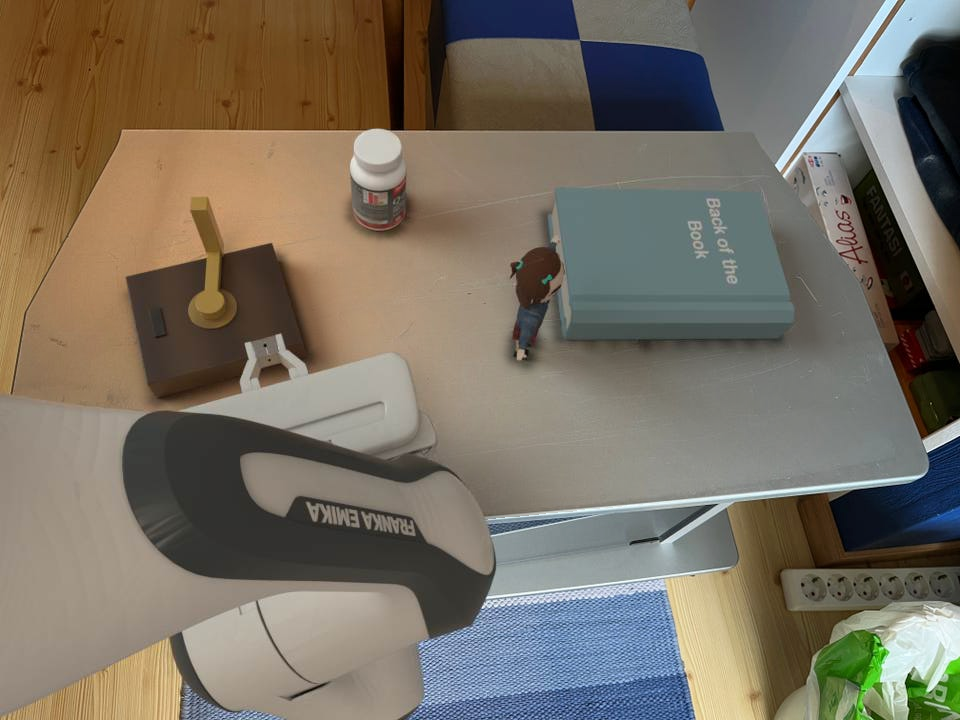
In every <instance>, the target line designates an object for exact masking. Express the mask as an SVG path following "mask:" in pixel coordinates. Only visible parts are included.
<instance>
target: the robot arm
mask: <svg viewBox="0 0 960 720" xmlns="http://www.w3.org/2000/svg"><path fill="white" fill-rule="evenodd" d="M245 347H246V350H247V354H248V358H249V360H248V361H247V363H246V366H245V369H244V371H243V374H242V375H241V377H240V379H239V385H240V389H241V393H237V394H234V395H230V396H226V397H222V398H219V399H216V400H215V399H214V400H211V401H209V402H205V403H201V404H198V405H194V406H190V407H186V408H183V409H178V410H155V411H152V410H139V409H127V408H115V407H105V406H104V407H103V406H92V405H81V404H74V403H67V402H60V401H53V400H46V399H40V398H35V397H29V396H22V395H18V394H17V395H16V394H11V393H6V392H0V719H1V718H3V717H6V716H8V715H10V714H13V713H15V712H17V711H19V710H21V709H24V708H26V707H28V706H31V705H32V704H35V703H36V702H39V701H41V700H43V699H45V698H47V697H49V696H51V695H54V694H56V693H58V692H60V691H62V690H65V689H66V688H69V687H70V686H73V685H74V684H76V683H78V682H80V681H83V680H85V679H86V678H88V677H91V676H93V675H95V674H97V673H99V672H101V671H103V670H105V669H107V668H109V667H111V666H113V665H115V664H117V663H119V662H121V661H123V660H125V659H127V658H129V657H132V656H134V655H135V654H137V653H138V654H139V652H142V651H144V650H146V649H148V648H150V647H152V646H154V645H156V644H158V643H160V642H162V641H164V640H167V639H169V645H170V649H171V653H172V657H173V660H174V663H175V666H176V668H177V670H178V672H179V674H180V677H181V678H182V680H183V682H185V684H186V685H187V687H189V688H190V690H192V692H193V693H195V694H196V695H197V696H198V697H199V698H200V699H201V700H203V701H205V702H206V703H208V704H209V705H211V706H213V707H216V708H217V709H219V710H223V711H226V712H229V713H233V714H237V713H241V712H243V711H251V712H257V713H262V714H266V715H270V716H274V717H277V718H280V719H282V720H407V719H409V717H410V716H412V715H413V714H414V713H415V712H416V711H417V709H418V708H419V706H420V705H421V703H422V702H423V701H424V698H425V681H424V674H423V673H424V672H423V668H422V662H421V655H420V650H419V646H418V644H419V643H422V642H424V641H426V640H428V639H430V640H434V639H437V638H439V637H443V636H445V635H448V634H451V633H455V632H458V631H460V630H462V629H466V628H468V627H472V626H473V624H474V623H475V621H476V619H477V618H478V616H479V614H480V612H481V610H482V608H483V606H484V604H485V602H486V599H487V598H488V595H489V592H490V590H491V587H492V584H493V581H494V578H495V575H496V571H497V557H496V550H495V545H494V543H493V539H492V536H491V531H490V528H489V526H488V522H487V520H486V518H485V516H484V512H483V511H482V509H481V507H480V505H479V504H478V502H477V500H476V498H475V497H474V495H473V494H472V492H471V491H470V490H469V488H468V487H467V485H466V483H464V481H463V480H462V479H461V478H460V477H459V476H458V475H457V473H455V471H453V470H452V469H450V468H448V467H446V466H445V465H443V464H441V463H438V462H436V461H435V460H432V459H429V457H430V456H431V455H433V453H434V452H435V450H436V448H437V445H438V436H437V433H436V430H435V428H434V425H433V422H432V419H431V418H430V416H429V415H428V414H427V413H426V412H425V411H423V410H421V409H419V408H420V407H419V402H418V395H417V390H416V386H415V381H414V378H413V374H412V371H411V368H410V365H409V362H408V360H407V359H406V357H404V356H402V355H400V354H399V353H397V352H396V351H389V352H388V351H387V352H385V353H382V354H377V355H374V356H370V357H367V358H363V359H360V360H356V361H352V362H349V363H346V364H341V365H339V366H335V367H331V368H327V369H323V370H320V371H317V372H312V373H310V374H309V371H308V368H307V365H306V363H305V362H304V361H303V360H301V359H299V358H297V357H296V356H295V355H294V354H292V353H291V352H290V351H289V350H286V348H285V344H284V341H283V337H282V334H277V335H273V336H269V337H266V338H262V339H258V340H254V341H251V342H247V343H245ZM278 363H282V364H281V365H282V366H284V367H285V368H286V369H287V370H288V374H289V375H288V376H289V378H290V379H287V380H284V381H280V382H276V383H274V384H273V383H272V384H269V385H267V386H261V383H260V379H259V377H260V374H261V368H263V367H267V366H270V365H274V364H278ZM424 451H425V452H424ZM423 452H424V453H423Z"/></svg>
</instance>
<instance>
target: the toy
mask: <svg viewBox="0 0 960 720" xmlns="http://www.w3.org/2000/svg"><path fill="white" fill-rule="evenodd" d="M560 241H561V240H560V239H558V236H557V235H555V236H554V237H553V239H552V240H551V242H550V244H549V245H548V246H538V247H534V248H533V249H531V250H529V251H527V252H526V253H525V254H523V256H522V257H521V258H520V259H519V261H513V262H510V264H509V266H510V268H511V274H510V277H509V280H511V279H512V278H513V277H514V276H515V281H516V286H515V294H516V297H517V300H518V302H519V306H518V309H517V313H516V319H515V323H514V326H513V330H512V331H513V332H512V337H511V339H512V340H515V349H514V351H513V352H514V353H513V355H512V357H513V358H516V361H519V362H521V361H522V360H524V361H527V360H528V358H529V354H530V350H529V349H527V347H531V346H533V345H534V344H535V341H536V339H537V337H538V333H539V331H540V328H541V326H542V325H543V322H544V319H545V316H546V314H547V311H548V309H549V304H550V301H551V299H553V298H554V297H555V296H556V295H557V293H558V291H559V290H560V288H561V286H562V283H563V277H564V275H565V270H564V264H563V262H562V261H561V260H560V258H559V257H560V255H559V254H558V253H557V252H556V245H557V243H559V242H560Z"/></svg>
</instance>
